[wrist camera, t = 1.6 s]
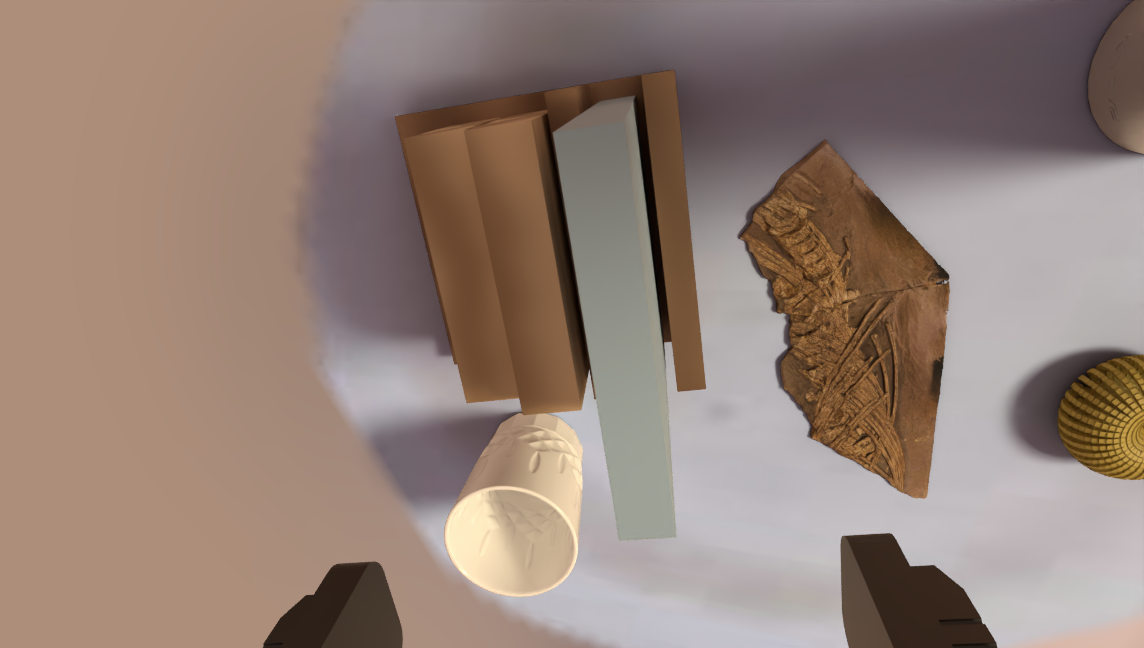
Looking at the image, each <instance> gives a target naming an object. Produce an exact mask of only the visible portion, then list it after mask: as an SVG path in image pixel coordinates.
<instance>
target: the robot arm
mask: <svg viewBox="0 0 1144 648" xmlns="http://www.w3.org/2000/svg"><path fill="white" fill-rule="evenodd" d="M1088 99H1089V103H1090V107H1091V111H1092V115H1093V117H1094V119H1095V121H1096V122H1097V124H1098V126H1099V128H1100V129H1101V131H1102V132H1103V133H1104V134H1105V135H1106V136H1107V137H1108V138H1109V139H1110V140H1111V141H1113V142H1114V143H1116V144H1118V145H1120V146H1121V147H1123V148H1125V149H1127V150H1130V151H1134V152H1137V153H1141V154H1144V0H1134V1H1133V2H1131V3H1130V4H1129V5H1128V6H1127V7H1126V8H1125V9H1124V10H1123V11H1122V13H1121V14H1120V15H1119V16H1118V17H1117V18H1116V19H1115V20H1114V21H1113V23H1112V24H1111V26H1110V27H1109V29H1108V30H1107V32H1106V33H1105V35H1104V37H1103V38H1102V40H1101V41H1100V44H1099V46H1098V48H1097V51H1096V53H1095V55H1094V58H1093V60H1092V65H1091V69H1090V74H1089V79H1088ZM841 585H842V614H843V622H844V628H845V633H846V638H847V642H848V646H849V648H997V645H996V641H995V640H994V638H993V637H992V635H991V633H990V632H989V630H988V628H987V627H986V625H985V624H983V623H982V620H981V617H980V615H979V614H978V612H977V610H976V609H975V607H974V605H973V604H972V602H971V600H970V599H969V597H968V596H967V594H966V592H965V591H964V589H963V588H962V587H960V586H959V585H958V584H957V583H955V582H954V581H953V580H952V579H950V578H949V577H948V576H947V575H946V574H944V573H943V572H942V571H941V570H939V569H938V568H937V567H936V566H934V565H930V566H910V565H909V563H908V561H907V560H906V558H905V556H904V554H903V552H902V550H901V548H900V546H899V544H898V543H897V541H896V539H895V537H894V536H893V535H892V534H890V533H886V534H869V535H851V536H842V538H841ZM402 637H403V636H402V628H401V624H400V620H399V617H398V614H397V611H396V608H395V605H394V602H393V598H392V595H391V592H390V589H389V586H388V583H387V580H386V577H385V573H384V571H383V568H382V566H381V565H380V564H379V563H378V562H360V563H343V564H336V565H334V566H333V567H332V568H331V569H330V570H329V572H328V573H327V575H326V576H325V578H324V579H323V581H322V583H321V584H320V586H319V587H318V589H317V591H316V592H315V594H314V595H306V596H305V597H304V598H303V599H301V600H300V601H299V602H298V603H297V604H296V605H295V606H293V607H292V608H291V609H290V610H289V611H288V612H287V613H286V614H285V615H283V616H282V617H281V618H280V620H279V621H278V623H277V624H276V626H275V627H274V629H273V630H272V632H271V633H270V635H269V636H268V638H267V639H266V641H265V642H264V646H263V648H402V641H403V638H402Z"/></svg>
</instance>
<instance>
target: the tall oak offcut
mask: <svg viewBox="0 0 1144 648" xmlns="http://www.w3.org/2000/svg"><path fill="white" fill-rule="evenodd" d="M464 134H465V139H466V144H467V149H468V153H469V158H470V163H471V168H472V173H473V177H474V182H475V187H476V192H477V197H478V202H479V206H480V211H481V216H482V221H483V226H484V230H485V235H486V240H487V245H488V250H489V255H490V259H491V264H492V269H493V274H494V279H495V284H496V288H497V293H498V298H499V303H500V308H501V312H502V317H503V322H504V327H505V332H506V337H507V341H508V346H509V351H510V356H511V361H512V365H513V370H514V375H515V380H516V385H517V390H518V394H519V399H520V404H521V409H522V414H523V415H533V414H544V413H555V412H566V411H577V410H581V409H582V404H583V398H584V393H585V388H586V383H587V378H588V373H589V362H588V356H587V350H586V344H585V338H584V332H583V326H582V320H581V314H580V308H579V301H578V295H577V289H576V283H575V277H574V271H573V265H572V259H571V253H570V246H569V240H568V234H567V228H566V222H565V216H564V210H563V204H562V198H561V192H560V185H559V179H558V173H557V167H556V161H555V155H554V149H553V143H552V137H551V130H550V124H549V118H548V112H547V110H543V111H537V112H531V113H525V114H519V115H512V116H508V117H505V118H502V119H499V120H496V121H493V122H490V123H487V124H484V125H481V126H478V127H475V128H472V129H469V130H466V131H464Z"/></svg>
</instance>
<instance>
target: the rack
mask: <svg viewBox="0 0 1144 648" xmlns="http://www.w3.org/2000/svg"><path fill="white" fill-rule="evenodd" d="M634 95H636V103H637V112H638V120H639V129H640V137H641V146H642V154H643V162H644V171H645V179H646V188H647V196H648V204H649V213H650V221H651V230H652V238H653V247H654V255H655V263H656V272H657V280H658V289H659V297H660V305H661V314H662V322H663V333H664V342H672V347H673V356H674V365H675V373H676V382H677V391H678V392H679V391H690V390H701V389H706V384H705V374H704V363H703V353H702V343H701V333H700V323H699V313H698V302H697V292H696V282H695V272H694V262H693V251H692V241H691V231H690V221H689V211H688V200H687V190H686V180H685V170H684V160H683V150H682V139H681V129H680V119H679V109H678V99H677V88H676V78H675V70H667V71H661V72H655V73H650V74H644V75H638V76H632V77H626V78H620V79H614V80H608V81H602V82H596V83H590V84H584V85H578V86H572V87H566V88H561V89H555V90H549V91H543V92H537V93H531V94H525V95H519V96H513V97H507V98H501V99H495V100H489V101H483V102H477V103H472V104H466V105H460V106H454V107H448V108H442V109H436V110H430V111H424V112H418V113H412V114H406V115H401V116H395V119H396V124H397V128H398V132H399V136H400V140H401V144H402V149H403V153H404V157H405V161H406V165H407V169H408V173H409V178H410V182H411V186H412V190H413V194H414V198H415V203H416V207H417V211H418V215H419V219H420V223H421V227H422V232H423V236H424V240H425V244H426V248H427V252H428V257H429V261H430V265H431V269H432V273H433V277H434V282H435V286H436V290H437V294H438V298H439V302H440V306H441V311H442V315H443V319H444V323H445V327H446V331H447V336H448V340H449V344H450V348H451V352H452V356H453V361H454V364H457V360H456V356H455V352H454V348H453V344H452V340H451V335H450V331H449V327H448V323H447V319H446V314H445V310H444V306H443V302H442V298H441V294H440V289H439V285H438V281H437V277H436V273H435V268H434V264H433V260H432V256H431V252H430V247H429V243H428V239H427V235H426V231H425V227H424V222H423V218H422V214H421V210H420V206H419V201H418V197H417V193H416V189H415V185H414V180H413V176H412V172H411V168H410V164H409V160H408V155H407V151H406V147H405V143H404V139H405V138H409V137H412V136H416V135H419V134H423V133H426V132H430V131H434V130H437V129H441V128H444V127H448V126H451V125H458V124H464V123H470V122H476V121H482V120H488V119H494V118H501V119H502V118H505V117H508V116H512V115H519V114H525V113H531V112H537V111H543V110H547V112H548V118H549V124H550V130H551V137H552V143H553V149H554V155H555V161H556V167H557V173H558V179H559V185H560V192H561V198H562V204H563V210H564V216H565V222H566V228H567V234H568V240H569V246H570V253H571V259H572V265H573V271H574V277H575V283H576V289H577V295H578V301H579V308H580V314H581V320H582V326H583V332H584V338H585V344H586V350H587V356H588V362H589V369H590V375H591V381H592V387H593V393H594V399H596V395H595V389H594V383H593V376H592V370H591V364H590V358H589V352H588V346H587V340H586V333H585V327H584V321H583V315H582V309H581V303H580V296H579V290H578V284H577V278H576V272H575V266H574V260H573V253H572V247H571V241H570V235H569V229H568V223H567V217H566V210H565V204H564V198H563V192H562V186H561V180H560V174H559V167H558V161H557V155H556V149H555V143H554V137H553V132H554V131H556V130H557V129H559V128H560V127H562V126H563V125H565V124H566V123H568V122H569V121H571V120H572V119H574V118H575V117H577V116H578V115H580V114H581V113H583V112H584V111H586V110H588V109H589V108H591V107H592V106H594V105H595V104H597V103H598V102H600V101H604V100H610V99H616V98H622V97H628V96H634Z"/></svg>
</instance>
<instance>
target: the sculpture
mask: <svg viewBox="0 0 1144 648" xmlns="http://www.w3.org/2000/svg"><path fill="white" fill-rule="evenodd" d="M1087 372H1088V373H1087V375H1088V376H1089V378H1091V380H1092V381H1091V380H1090V379H1089V378H1087V377H1086V376H1084V375H1081V377H1079V378H1078V379H1079V380H1081V381H1082V382H1083V383H1085V384H1086V385H1087V386H1088V387H1089V388H1087V387H1086V386H1083V385H1082V384H1080V383H1077V382H1074V383H1073V384H1072V385H1071V387H1072V388H1073V389H1072V390H1071V389H1069V390H1067V392H1066V393H1065V397H1064V398H1063V399H1062V401H1061V404H1060V405H1061V406H1060V407H1059V411H1058V414H1059V415H1058V419H1057V423H1058V429H1059V435H1061V438H1062V439H1061V440H1062V442H1063V444H1064V446H1065V447H1066V448H1067V449H1068V451H1069V453H1070V454H1071V455H1072V456H1073V457H1074V458H1076V459H1077V460H1078V462H1080V463H1082V464H1083V465H1084V466H1086V467H1088V468H1089V469H1090V470H1092V471H1095V472H1097V473H1100V474H1103V475H1105V476H1108V477H1109V476H1110V477H1113V478H1119V479H1124V480H1125V479H1130V480H1133V479H1134V480H1140V479H1144V355H1134V356H1126V357H1125V356H1123V357H1122V358H1121V357H1120V358H1118V359H1117V358H1115V359H1112V360H1108V361H1107V362H1106V363H1102V364H1099V365H1098V366H1096V368H1095V369H1094V368H1091V369H1089V371H1087ZM1104 372H1105V373H1104ZM1104 374H1105V375H1104ZM1098 379H1100V380H1098ZM1130 381H1131V382H1130ZM1102 384H1103V385H1102ZM1090 388H1091V389H1092V390H1091V389H1090ZM1075 396H1076V397H1075ZM1077 396H1078V397H1077ZM1084 397H1085V398H1084ZM1107 402H1108V403H1107ZM1089 426H1090V427H1089ZM1138 456H1139V457H1138ZM1131 459H1132V460H1131Z"/></svg>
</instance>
